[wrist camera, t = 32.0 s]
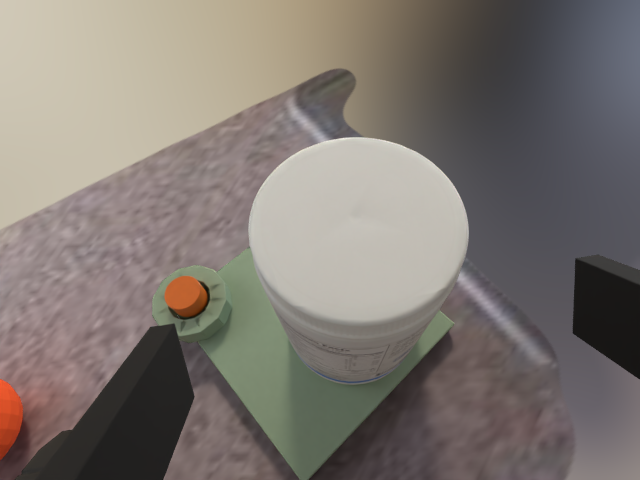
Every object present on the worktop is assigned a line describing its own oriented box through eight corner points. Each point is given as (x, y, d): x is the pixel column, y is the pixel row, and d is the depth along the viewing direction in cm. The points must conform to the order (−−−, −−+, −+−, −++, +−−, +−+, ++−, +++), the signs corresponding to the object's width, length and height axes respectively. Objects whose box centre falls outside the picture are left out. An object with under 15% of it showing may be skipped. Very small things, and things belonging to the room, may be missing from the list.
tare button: (167, 300, 29) (157, 291, 27) (196, 278, 29) (187, 268, 28) (185, 324, 28) (176, 316, 26) (214, 301, 28) (207, 292, 27)
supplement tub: (306, 254, 32) (282, 117, 19) (421, 276, 30) (479, 144, 17) (271, 371, 27) (208, 295, 14) (405, 405, 26) (466, 354, 13)
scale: (158, 312, 32) (138, 297, 29) (304, 201, 36) (301, 178, 33) (291, 498, 25) (284, 504, 22) (449, 330, 30) (461, 315, 27)
